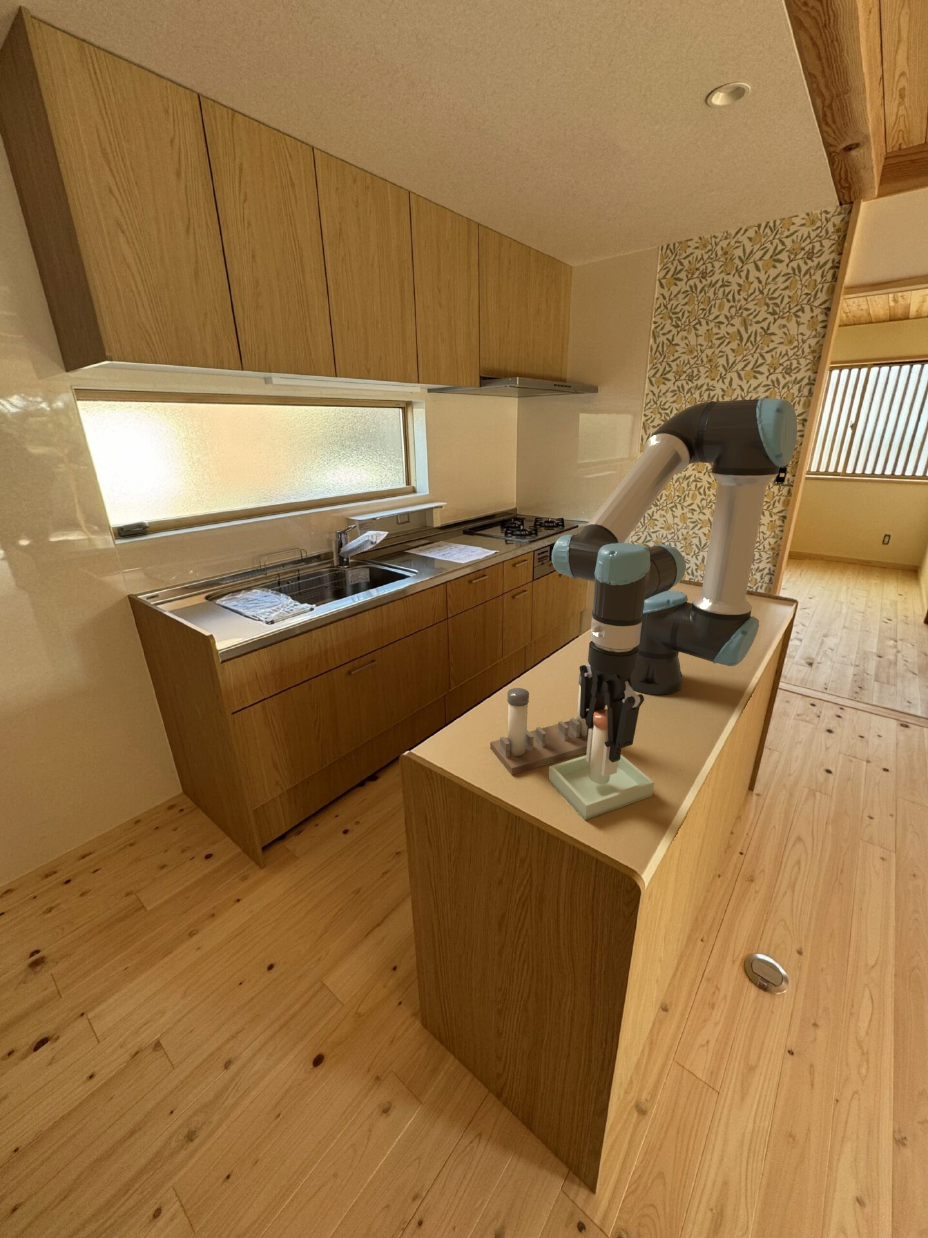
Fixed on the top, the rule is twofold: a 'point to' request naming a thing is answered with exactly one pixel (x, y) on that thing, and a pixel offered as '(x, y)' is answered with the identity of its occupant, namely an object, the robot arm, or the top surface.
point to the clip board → (543, 746)
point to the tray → (599, 786)
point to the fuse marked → (598, 746)
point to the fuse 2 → (582, 721)
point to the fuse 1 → (517, 720)
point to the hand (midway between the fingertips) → (600, 766)
